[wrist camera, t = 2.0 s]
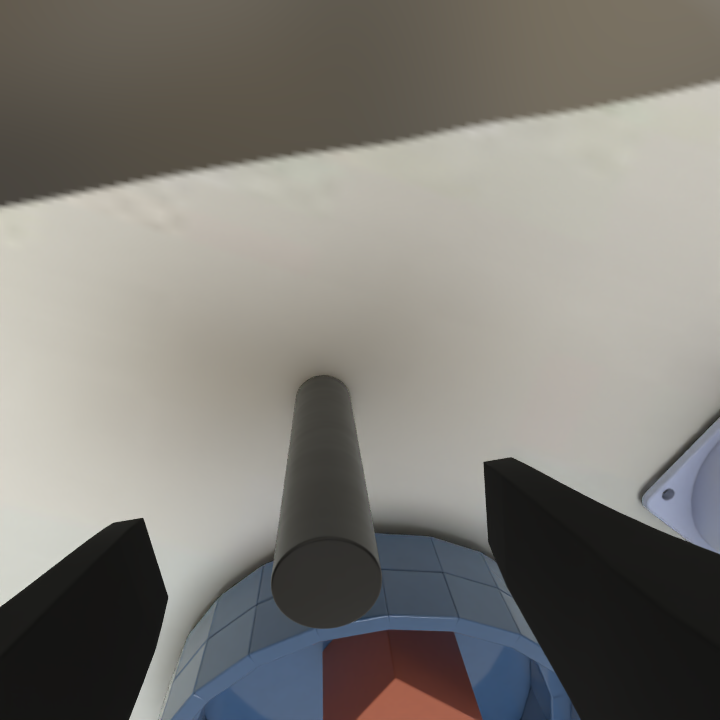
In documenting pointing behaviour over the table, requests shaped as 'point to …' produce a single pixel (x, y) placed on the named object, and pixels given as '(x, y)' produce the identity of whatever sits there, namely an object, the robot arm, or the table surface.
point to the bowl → (390, 612)
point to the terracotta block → (397, 678)
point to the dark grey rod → (325, 515)
